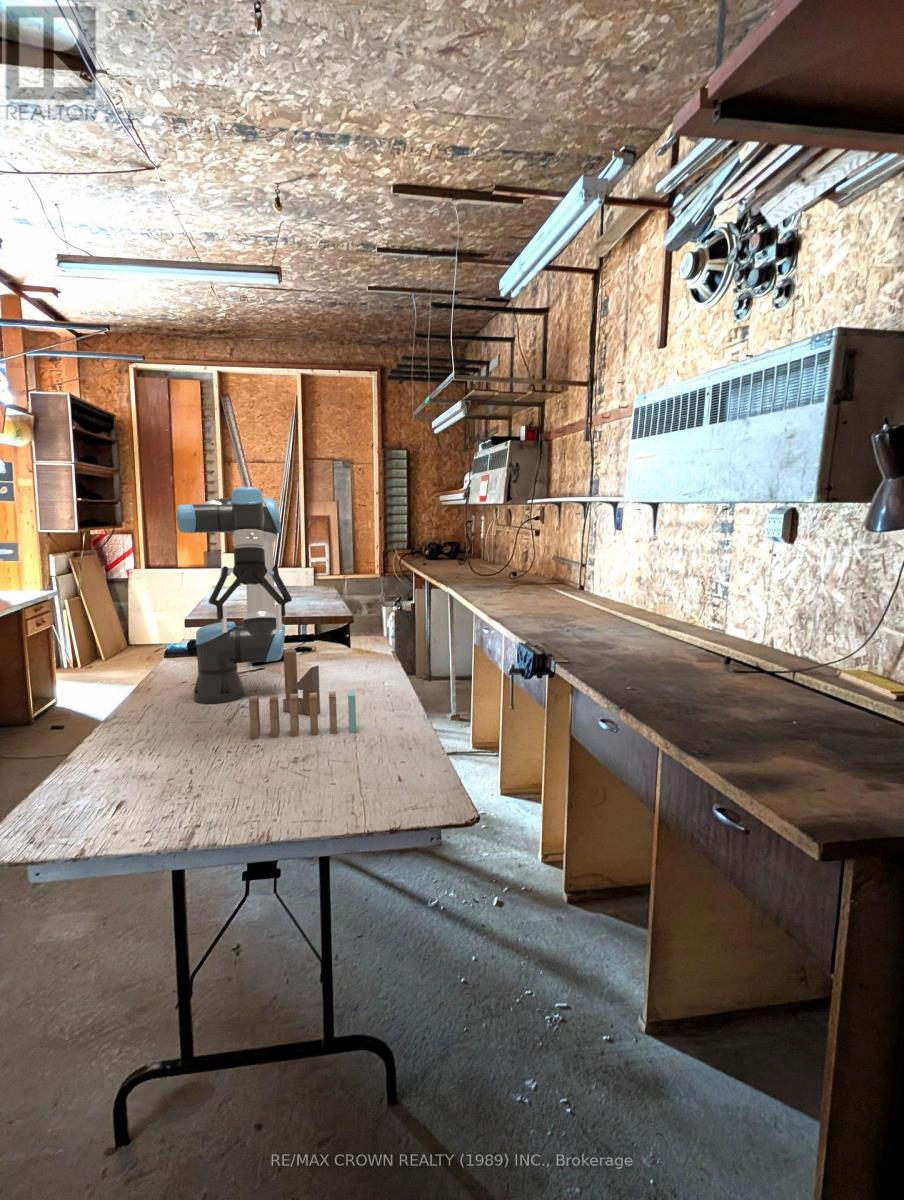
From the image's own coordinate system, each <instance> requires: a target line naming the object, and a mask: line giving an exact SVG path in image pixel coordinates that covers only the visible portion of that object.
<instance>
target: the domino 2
mask: <svg viewBox="0 0 904 1200" xmlns="http://www.w3.org/2000/svg"><path fill="white" fill-rule="evenodd" d="M269 697H270V698H269V700H268V701H269V703H268V704H269V722H270V725H269V726H270V738H271V739H277V738H279V736H280V733H281V732H280V731H281V729H280V728H281V727H280V710H279V709H280V708H279V707H280V706H279V694H270V696H269Z"/></svg>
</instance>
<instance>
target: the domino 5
mask: <svg viewBox="0 0 904 1200" xmlns="http://www.w3.org/2000/svg"><path fill="white" fill-rule="evenodd" d="M328 708H329V709H328V711H329V713H328V714H329V734H330V735H335V734H338V717H337V715H338V714H337V692H336V691H328Z"/></svg>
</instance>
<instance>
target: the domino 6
mask: <svg viewBox="0 0 904 1200" xmlns="http://www.w3.org/2000/svg"><path fill="white" fill-rule="evenodd" d="M356 703H357V702H356V692H355V690H354V689H353V690H352V689H351V690H347V706H348V730H349V733H357V714H356V713H357V712H356V708H357V707H356Z"/></svg>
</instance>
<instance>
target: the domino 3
mask: <svg viewBox="0 0 904 1200" xmlns="http://www.w3.org/2000/svg"><path fill="white" fill-rule="evenodd" d="M298 698H299V693H298V694H290V699H289V703H290V712H289V723H290V737H291V738H292V737H299V732H300V725H299V724H300V722H299V721H300V720H299V718H300V717H299V713H298Z"/></svg>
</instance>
